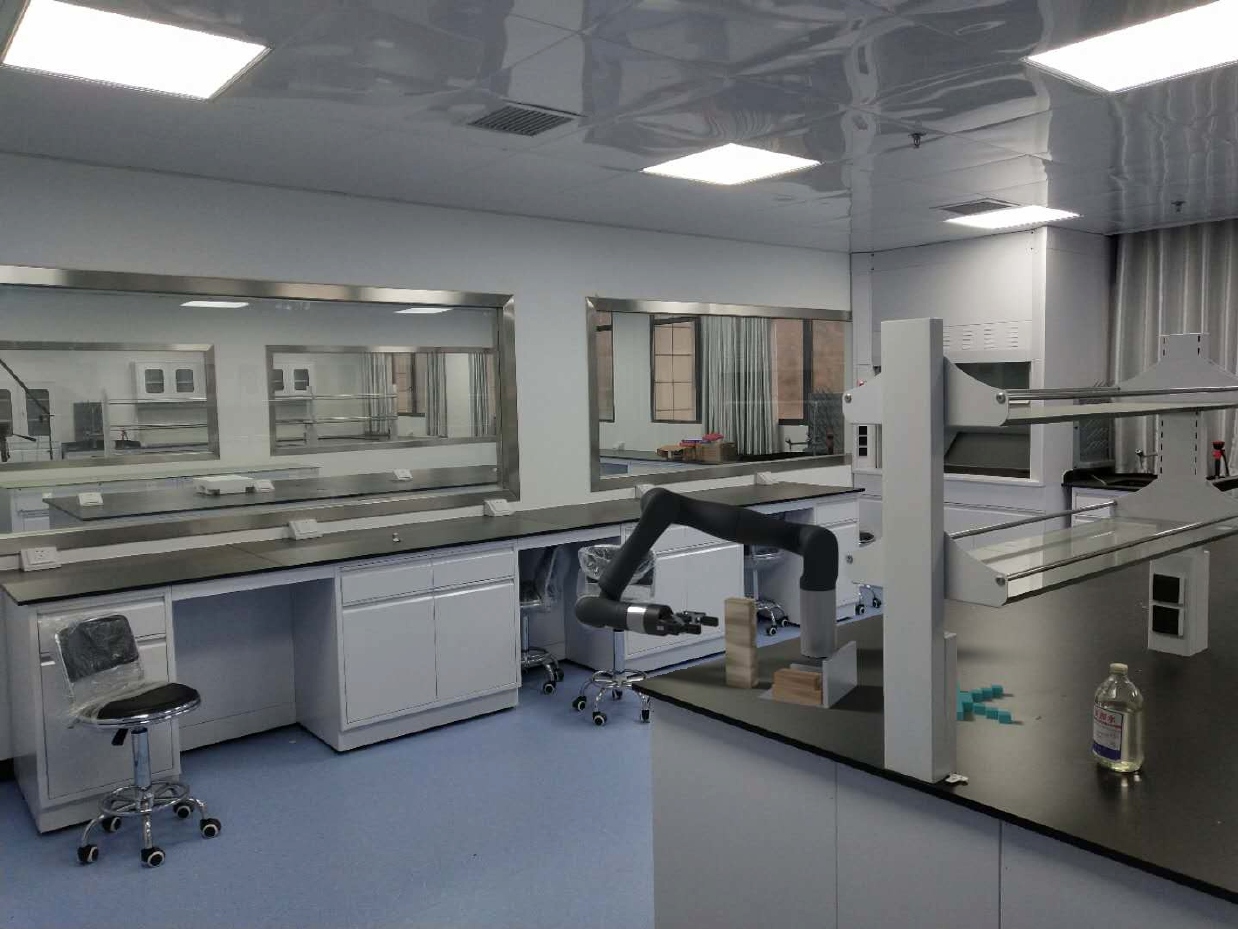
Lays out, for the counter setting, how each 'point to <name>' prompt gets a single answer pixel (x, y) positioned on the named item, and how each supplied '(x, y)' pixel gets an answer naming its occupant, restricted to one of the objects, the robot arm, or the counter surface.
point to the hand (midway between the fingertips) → (709, 626)
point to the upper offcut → (798, 679)
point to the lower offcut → (798, 693)
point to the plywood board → (741, 642)
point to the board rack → (830, 676)
